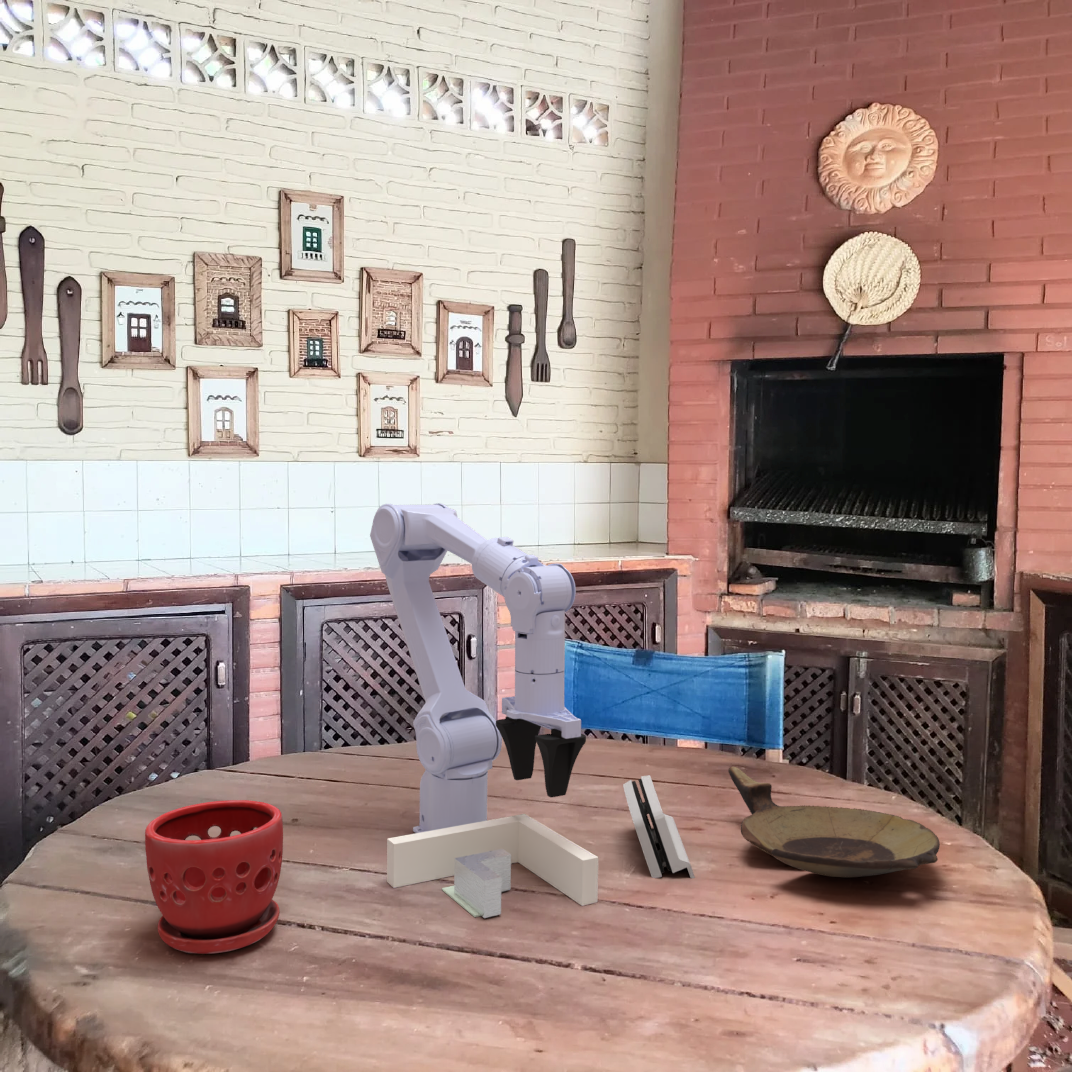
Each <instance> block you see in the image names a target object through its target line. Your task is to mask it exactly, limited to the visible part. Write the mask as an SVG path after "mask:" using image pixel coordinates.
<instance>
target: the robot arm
mask: <svg viewBox="0 0 1072 1072" xmlns="http://www.w3.org/2000/svg"><path fill="white" fill-rule="evenodd" d="M369 537H370V540H371V543H372V546H373V549H374V552H375V555H376V559H377V561H378V564H379V568H380V571H381V573H382V574H383V575H384V576H385V581H386V585H387V588H388V590H389V594H390V598H391V601H392V604H393V607H394V609H395V613H396V616H397V619H398V622H399V624H400V628H401V631H402V633H403V637H404V641H405V643H406V646H407V649H408V652H409V656H410V659H411V662H412V665H413V668H414V671H415V674H416V676H417V680H418V683H419V687H420V689H421V692H422V695H423V698H424V701H425V703H424V704H423V706H422V708H421V709H420V710H419V712H417V715H415V717H414V719H413V722H412V725H413V727H414V728H413V729H414V731H415V739H416V740H415V741H416V744H415V746H416V747H415V748H416V753H417V757H418V759H419V763H420V764H421V765H422V767H423V768H424V770H425V771H424V772H423V774H422V775H421V777H420V781H419V782H420V783H419V825H417V826H413V827H412V831H413V832H414V834H415V833H421V832H426V831H432V830H437V829H443V828H448V827H454V826H459V825H465V824H471V823H476V822H482V821H487V820H488V778H489V777H488V775H489V774H488V771H489V770H492V769H493V761H495V760H496V759H497V758H498V757H499V755H500V754H501V751H502V745H503V744H504V745H505V748H506V751H507V755H508V759H509V760H508V761H509V763H510V765H509V766H510V769H511V773H512V777H513V780H514V781H522V780H528V779H532V778H533V772H534V767H535V765H534V764H535V754H536V747H538V749H539V753H540V755H541V759H542V765H543V770H544V771H543V772H544V785H545V790H546V794H547V797H549V798H556V797H562V796H566V795H567V791H568V788H569V782H570V779H571V775H572V772H573V768H574V766H575V762H576V760H577V758H578V756H579V754H580V753H581V752H580V751H581V750H582V748H583V746H585V744H586V742H587V736H586V734H584V733H582V720H581V718H578V717H576V716H575V715H574V714H573V713H572V712H571V711H569V709H567V707H566V706H565V669H566V668H565V662H566V661H565V659H566V658H565V656H566V655H565V652H566V650H565V649H566V647H565V645H566V644H565V641H566V639H565V637H566V632H565V631H566V630H565V629H566V628H565V627H566V626H565V625H566V623H565V622H566V621H565V620H566V617H565V616H566V613H567V612H568V611H570V610H571V608H572V606H573V605H574V603H575V599H576V596H577V595H576V593H577V588H576V583H575V580H574V577H573V575H572V573H571V572H570V570H568V569H567V568H566V567H565V566H564V565H563V564H562V563H558V562H555V563H551V564H550V563H549V564H547V565H546V564H543V563H542V562H541V561H539V557H538V556H536V555H535V554H533V553H532V554H528V553H527V552H524V551H523V550H521V549H520V548H518V547H516V546H515V545H514V542H515V541H514V540H513V539H511V537H508V536H499V537H492V538H489V539H487V538H485V537H484V536H483V535H481V534H480V533H479V532H477V531H476V530H475V529H473V528H472V527H471V526H469V525H468V524H467V523H465V522H464V521H463V520H462V519H460V518H459V517H458V514H457V511H456V509H453V508H451V507H449V506H447V505H446V504H444V503H441V502H439V503H438V502H437V503H433V504H393V503H385V504H382V505H380V506H379V508H377V509H376V512H375V514H374V516H373V520H372V525H371V530H370V534H369ZM447 552H449V553H450V554H453V555H455V556H456V557H458V558H461V559H462V560H464V561H465V562H467V563H469V564H471V570H472V573H473V576H474V577H475V578H476V579H477V580H479V581H480V582H481V583H483V584H484V585H486V586H487V587H489V588H490V589H492V590H493V591H495V592H496V593H498V594H499V595H501V596H502V597H503V599H504V602H505V605H506V608H507V610H508V612H509V615H510V616H509V617H510V626H511V627H512V628H511V629H512V631H513V632H514V696H506V697H505V696H504V697H502V698H501V714H503V715H505V718H502V719H501V718H500V719H497V720H496V719H495V717H493V715H492V714H491V713H490V710H489V708H488V705H487V703H486V701H485V700H484V699H483V698H481V697H480V696H478V695H476V694H474V693H472V692H471V691H470V690H468V689H466V686H465V684H464V680H463V677H462V675H461V672H460V669H459V666H458V663H457V660H456V657H455V654H454V651H453V648H452V645H451V643H450V639H449V636H448V634H447V631H446V627H445V624H444V622H443V618H442V616H441V612H440V610H439V607H438V605H437V602H436V598H435V595H434V593H433V590H432V586H431V583H430V577H431V575H432V574H434V573H435V572H436V571H438V569H439V568H440V566H441V563H442V562H443V560H444V559H445V557H446V554H447ZM541 728H545V729H547V730H550V733H544V734H539V733H540V730H541Z"/></svg>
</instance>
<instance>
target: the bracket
mask: <svg viewBox="0 0 1072 1072" xmlns="http://www.w3.org/2000/svg"><path fill="white" fill-rule="evenodd" d="M511 868H512V864H511V854H510V853H508V852H507V851H505V850H504V849H498V850H493V851H488V852H483V853H478V854H473V855H469V856H464V857H459V858H455V868H454V878H453V879H454V881H453V884H454V885H453V886H454V894H455V895H456V896H457V897H459V898H460V899H461V900H462V901H464V902H465V903H466V904H467V905H469V906H470V907H471V908H472V909H474V910H475V911H476V912H477V913H478V914H480V915H481V916H480V917H482V918H484V919H486V918H491V917H495V916H498V915H501V914H502V893H503V892H507V891H510V890H511V889H512V888H511V885H512V884H511V883H512V882H511V880H512V876H511V875H512V874H511V873H512V872H511V871H512V869H511Z"/></svg>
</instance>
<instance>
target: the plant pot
mask: <svg viewBox="0 0 1072 1072" xmlns="http://www.w3.org/2000/svg"><path fill="white" fill-rule="evenodd" d="M213 827H218V828H219V829H220V834H219V835H218V836H215V837H212V836H210V833H209V830H210V829H211V828H213ZM144 831H145V832H144V845H145V846H144V848H145V856H146V857H145V858H146V868H147V869H146V870H147V874H148V875H147V876H148V879H149V884H150V889H151V893H152V896H153V899H154V902H155V904H156V906H157V908H158V910H159V912H160V914H161V915H162V916H161V917H160V918H159V920H158V923H157V933H158V936H159V937H160V939H161V940H162V941H163V943H165V944H166V945H167V946H169V947H171V948H172V949H174V950H178V951H181V952H183V953H185V954H188V955H189V954H190V955H191V954H199V955H201V954H202V955H205V954H206V955H207V954H208V955H210V954H212V955H214V954H219V953H226V952H232V951H235V950H238V949H242V948H245V947H248V946H250V945H252V944H254V943H257V942H258V941H260V940H261V939H263V938H264V937H265V936H268V934H269V933H270V932H271V931H272V930H273V928H274V927H275V925H276V923H277V921H278V920H279V916H280V912H281V911H280V907H279V904H278V903H277V902H276V901H275V900H273V898H274V896H275V893H276V890H277V888H278V884H279V880H280V877H281V871H282V864H283V863H282V862H283V853H284V850H283V849H284V824H283V814H282V811H281V810H280V809H279V808H278V807H277V806H276V805H272V804H270V803H267V802H264V801H263V802H262V801H257V800H249V799H248V800H247V799H230V800H228V799H227V800H216V801H215V800H214V801H207V802H201V803H195V804H191V805H185V806H183V807H182V806H181V807H179V808H175V809H172V810H169V811H166V812H165V813H163V814H161V815H159V816H158V817H156V818H154V819H152V820H151V821H150V822H149V823H148V824H147V825H146V828H145V830H144ZM233 832H239V834H236V835H231V834H232V833H233ZM192 836H193V837H197V838H199V839H195V840H193V839H188V840H187V838H190V837H192Z"/></svg>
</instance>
